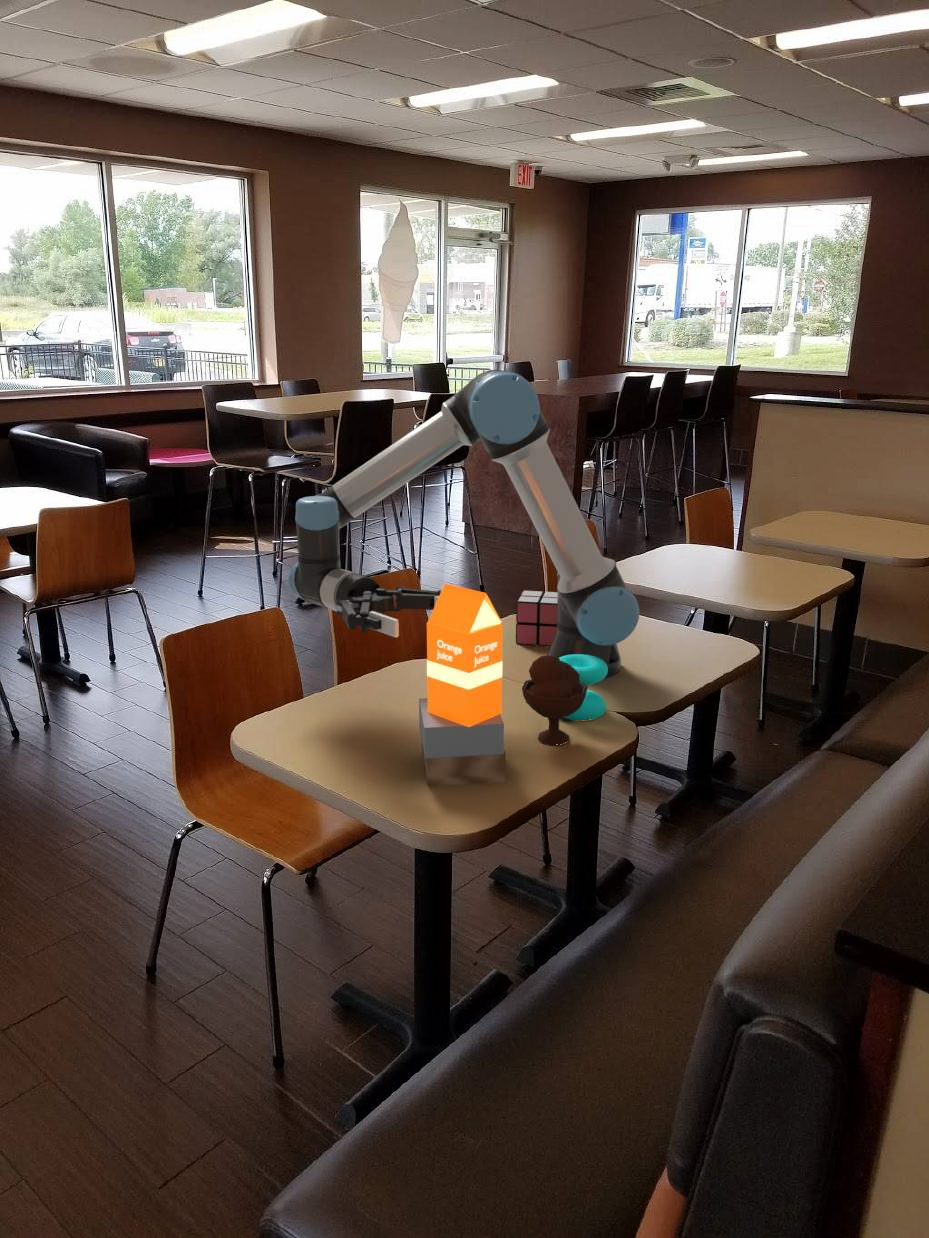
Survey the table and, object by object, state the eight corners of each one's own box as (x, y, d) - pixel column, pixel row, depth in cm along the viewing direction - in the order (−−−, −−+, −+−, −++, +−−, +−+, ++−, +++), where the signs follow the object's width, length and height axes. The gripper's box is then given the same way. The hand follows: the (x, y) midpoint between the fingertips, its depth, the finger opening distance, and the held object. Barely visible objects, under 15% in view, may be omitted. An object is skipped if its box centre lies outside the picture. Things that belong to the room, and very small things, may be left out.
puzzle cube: (560, 647, 206) (561, 603, 203) (515, 644, 208) (516, 601, 205) (564, 634, 215) (566, 592, 213) (521, 631, 217) (522, 590, 215)
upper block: (492, 723, 153) (492, 695, 152) (503, 754, 142) (503, 723, 140) (419, 727, 152) (419, 698, 150) (425, 758, 140) (424, 727, 139)
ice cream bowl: (569, 757, 151) (572, 670, 147) (509, 742, 157) (510, 658, 153) (596, 735, 160) (600, 652, 156) (538, 721, 166) (540, 641, 161)
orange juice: (468, 727, 139) (468, 598, 133) (426, 712, 145) (425, 587, 139) (502, 713, 144) (504, 588, 139) (461, 699, 150) (461, 578, 145)
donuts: (540, 658, 168) (582, 648, 173) (539, 710, 171) (580, 698, 176) (577, 674, 160) (619, 663, 166) (576, 728, 163) (617, 715, 169)
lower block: (494, 751, 154) (494, 723, 153) (505, 784, 143) (505, 754, 142) (422, 755, 153) (421, 727, 152) (427, 788, 142) (427, 758, 140)
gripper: (407, 602, 172) (487, 627, 157) (291, 629, 156) (367, 659, 141) (406, 562, 169) (487, 583, 154) (289, 585, 153) (366, 612, 138)
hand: (430, 620), depth 147 cm, fingers open, 13 cm apart
